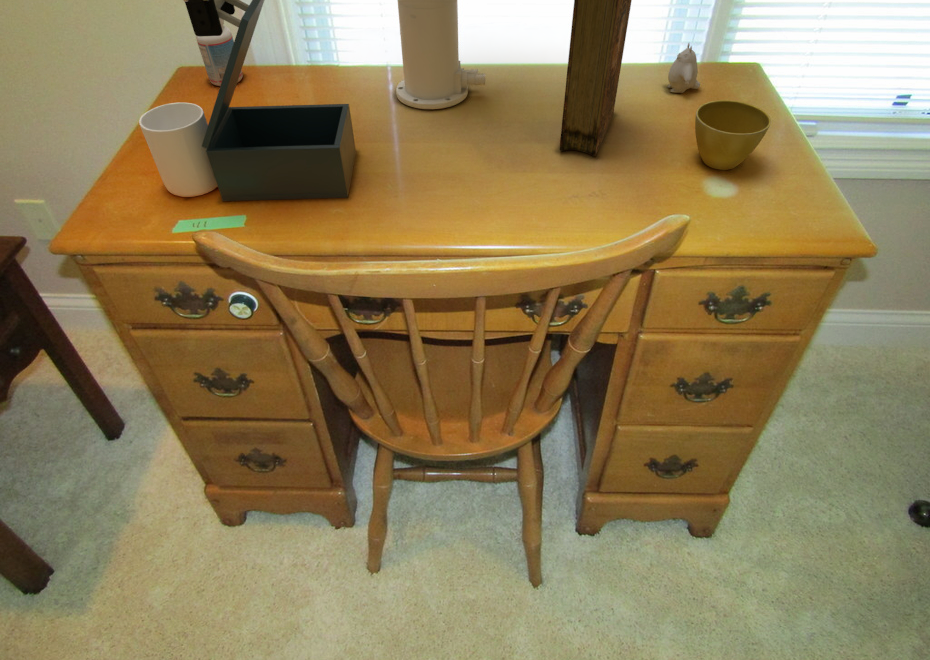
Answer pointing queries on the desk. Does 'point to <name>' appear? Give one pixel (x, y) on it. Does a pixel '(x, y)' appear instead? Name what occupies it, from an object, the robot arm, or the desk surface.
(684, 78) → the figurine
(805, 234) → the desk surface
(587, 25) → the book
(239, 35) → the lid
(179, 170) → the mug
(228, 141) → the chest
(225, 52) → the pill bottle
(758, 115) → the flower pot
